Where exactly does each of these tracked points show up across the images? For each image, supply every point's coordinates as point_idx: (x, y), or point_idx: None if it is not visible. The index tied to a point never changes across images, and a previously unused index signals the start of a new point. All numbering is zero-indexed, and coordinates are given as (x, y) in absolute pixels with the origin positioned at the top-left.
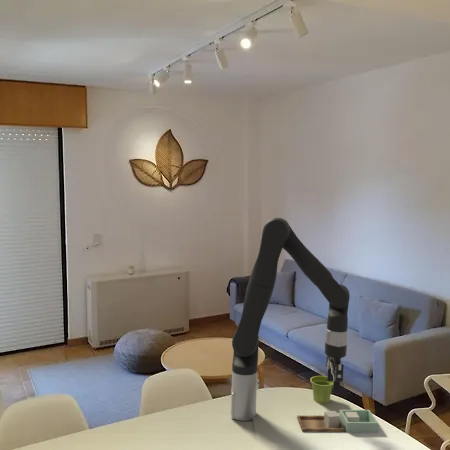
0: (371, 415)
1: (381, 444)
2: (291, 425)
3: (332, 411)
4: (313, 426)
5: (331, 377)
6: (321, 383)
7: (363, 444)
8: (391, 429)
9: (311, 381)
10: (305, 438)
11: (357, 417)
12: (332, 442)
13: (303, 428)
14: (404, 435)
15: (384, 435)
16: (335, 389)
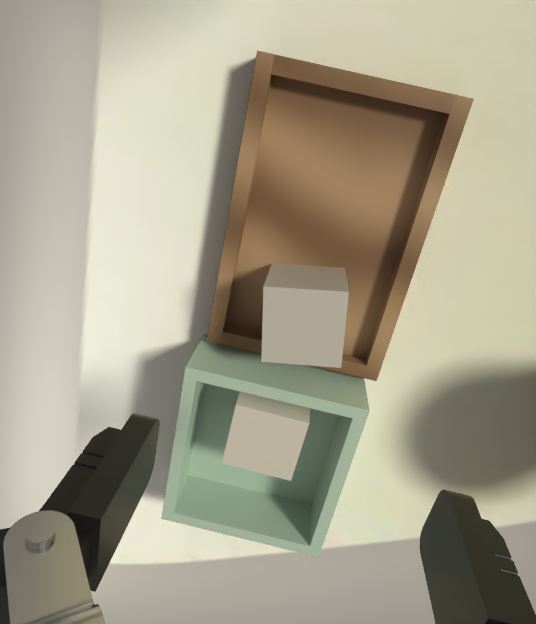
0: (250, 532)
1: (85, 438)
2: (390, 13)
3: (336, 348)
4: (310, 172)
5: (439, 565)
6: None
7: (90, 363)
8: (210, 546)
9: None
10: (189, 51)
11: (225, 453)
12: (123, 212)
13: (264, 65)
14: (152, 561)
15: (162, 492)
16: (97, 439)
